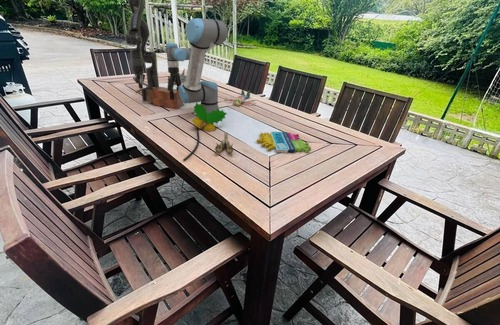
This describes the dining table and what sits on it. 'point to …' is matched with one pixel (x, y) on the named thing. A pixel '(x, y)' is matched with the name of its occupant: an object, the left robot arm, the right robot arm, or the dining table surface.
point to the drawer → (146, 94)
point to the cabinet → (166, 98)
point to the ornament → (207, 117)
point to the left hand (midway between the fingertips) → (141, 88)
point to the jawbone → (224, 145)
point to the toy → (241, 99)
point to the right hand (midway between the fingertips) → (175, 97)
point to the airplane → (181, 77)
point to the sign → (283, 142)
